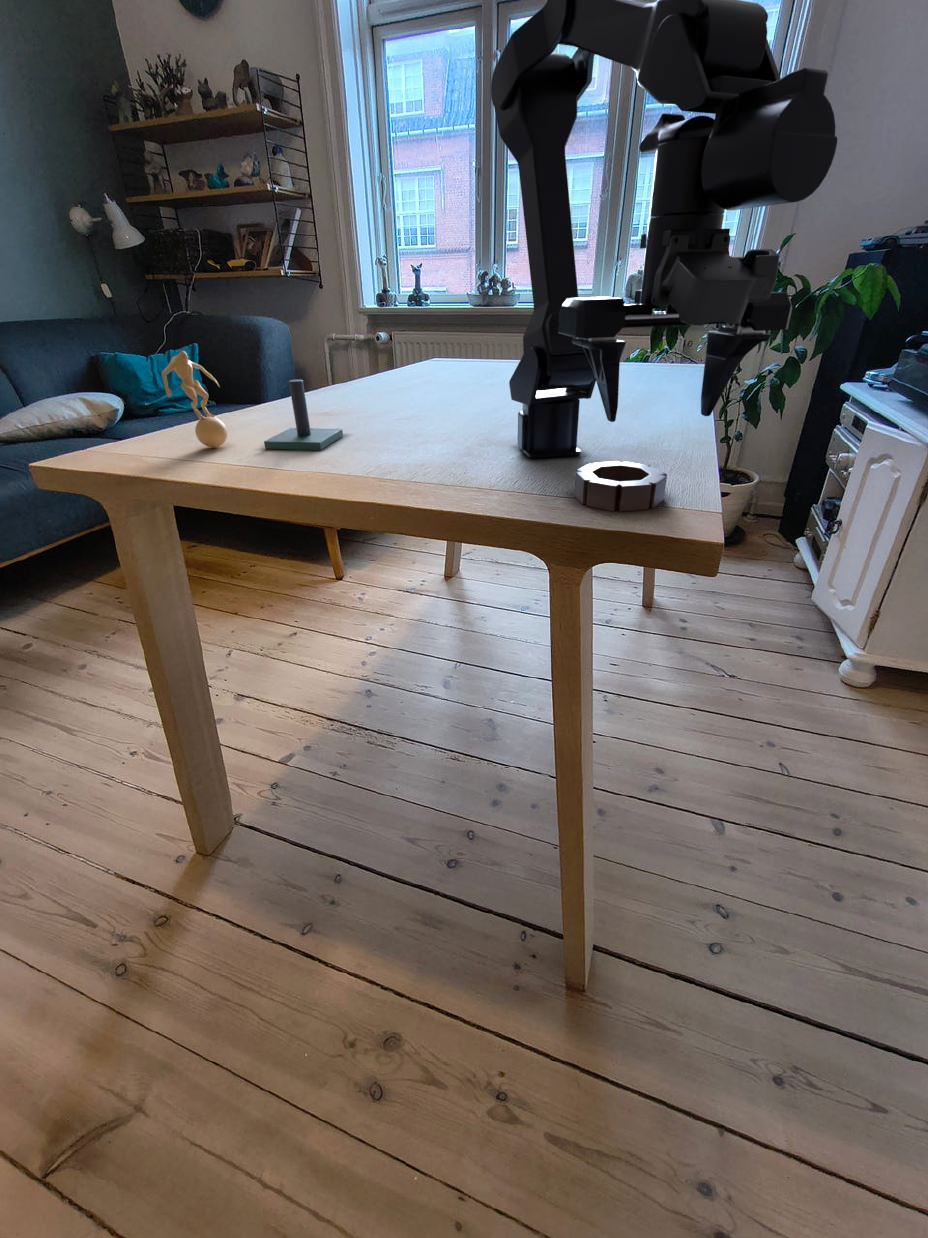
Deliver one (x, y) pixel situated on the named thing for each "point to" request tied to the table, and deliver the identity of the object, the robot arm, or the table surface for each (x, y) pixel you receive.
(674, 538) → the table surface
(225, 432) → the figurine
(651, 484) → the ring
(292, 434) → the peg stand
